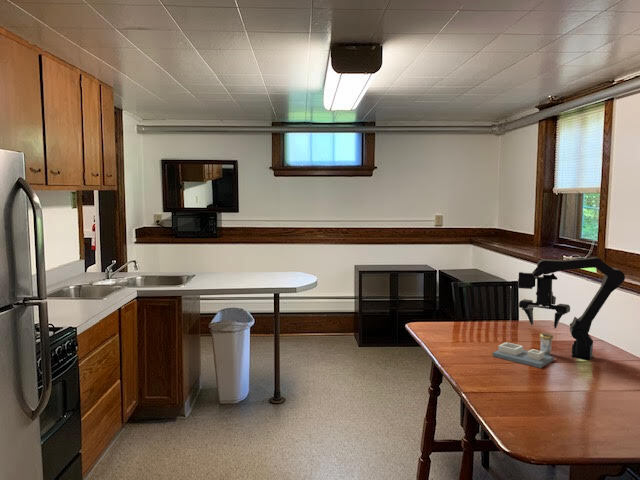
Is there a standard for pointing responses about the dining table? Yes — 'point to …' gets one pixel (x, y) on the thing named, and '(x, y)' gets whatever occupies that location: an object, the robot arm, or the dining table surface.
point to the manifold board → (522, 355)
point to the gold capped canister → (546, 343)
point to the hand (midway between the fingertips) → (543, 326)
